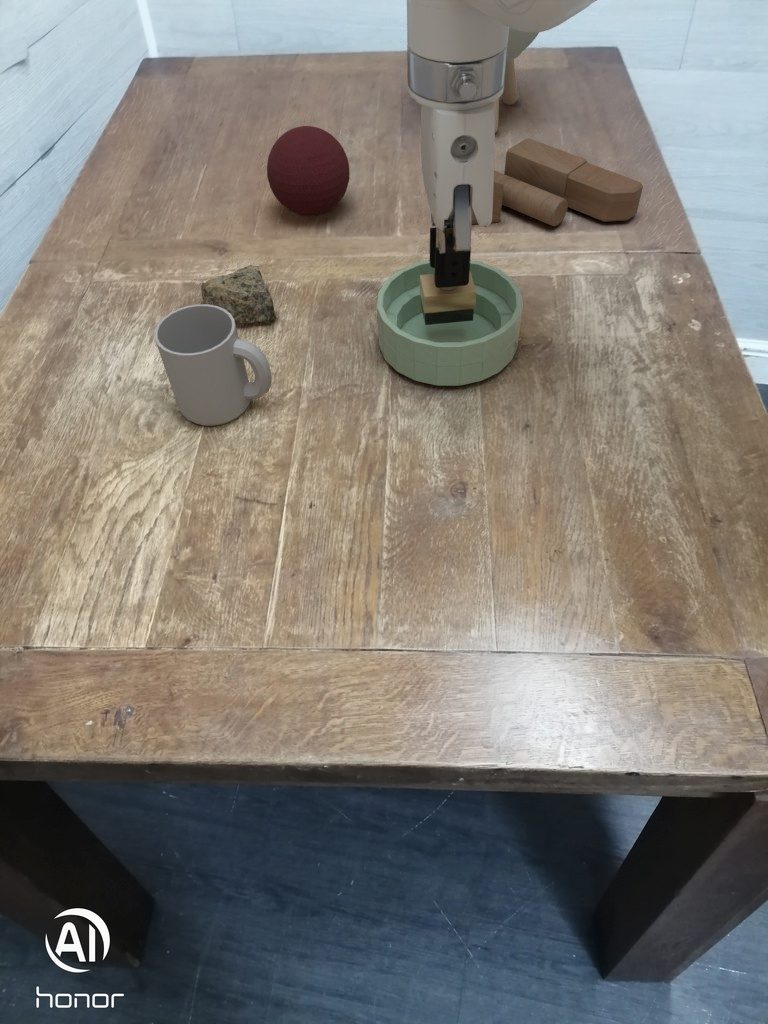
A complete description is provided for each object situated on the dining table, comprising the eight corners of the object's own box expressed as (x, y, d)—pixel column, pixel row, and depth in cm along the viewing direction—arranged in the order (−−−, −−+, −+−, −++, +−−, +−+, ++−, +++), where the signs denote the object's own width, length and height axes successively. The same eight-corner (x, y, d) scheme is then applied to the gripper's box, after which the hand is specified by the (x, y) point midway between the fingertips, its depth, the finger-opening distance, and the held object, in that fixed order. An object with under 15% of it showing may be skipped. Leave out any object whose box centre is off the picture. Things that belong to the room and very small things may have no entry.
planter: (406, 106, 114) (404, -79, 96) (501, 82, 117) (515, -100, 100) (458, 153, 104) (466, -42, 87) (559, 125, 108) (586, -67, 91)
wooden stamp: (468, 299, 78) (473, 208, 70) (474, 321, 76) (480, 229, 68) (419, 304, 78) (419, 213, 70) (424, 326, 76) (424, 234, 68)
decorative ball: (363, 221, 95) (357, 140, 87) (285, 239, 93) (272, 158, 85) (338, 183, 101) (331, 104, 93) (265, 199, 99) (251, 120, 91)
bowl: (543, 334, 80) (549, 289, 76) (464, 410, 74) (466, 366, 69) (433, 286, 86) (434, 242, 82) (351, 353, 79) (347, 309, 75)
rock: (213, 338, 82) (203, 303, 78) (201, 296, 86) (191, 261, 83) (278, 323, 83) (272, 288, 79) (263, 283, 88) (256, 248, 84)
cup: (193, 373, 78) (171, 301, 71) (287, 383, 77) (274, 310, 70) (168, 423, 74) (141, 351, 67) (267, 435, 73) (251, 362, 66)
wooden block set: (522, 126, 97) (648, 171, 89) (518, 169, 101) (637, 217, 93) (434, 179, 89) (563, 234, 81) (434, 223, 94) (556, 280, 86)
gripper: (527, 113, 54) (504, 324, 69) (485, 24, 64) (472, 225, 78) (422, 122, 54) (421, 332, 68) (395, 31, 64) (399, 232, 78)
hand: (448, 273), depth 73 cm, fingers closed on wooden stamp, 2 cm apart
